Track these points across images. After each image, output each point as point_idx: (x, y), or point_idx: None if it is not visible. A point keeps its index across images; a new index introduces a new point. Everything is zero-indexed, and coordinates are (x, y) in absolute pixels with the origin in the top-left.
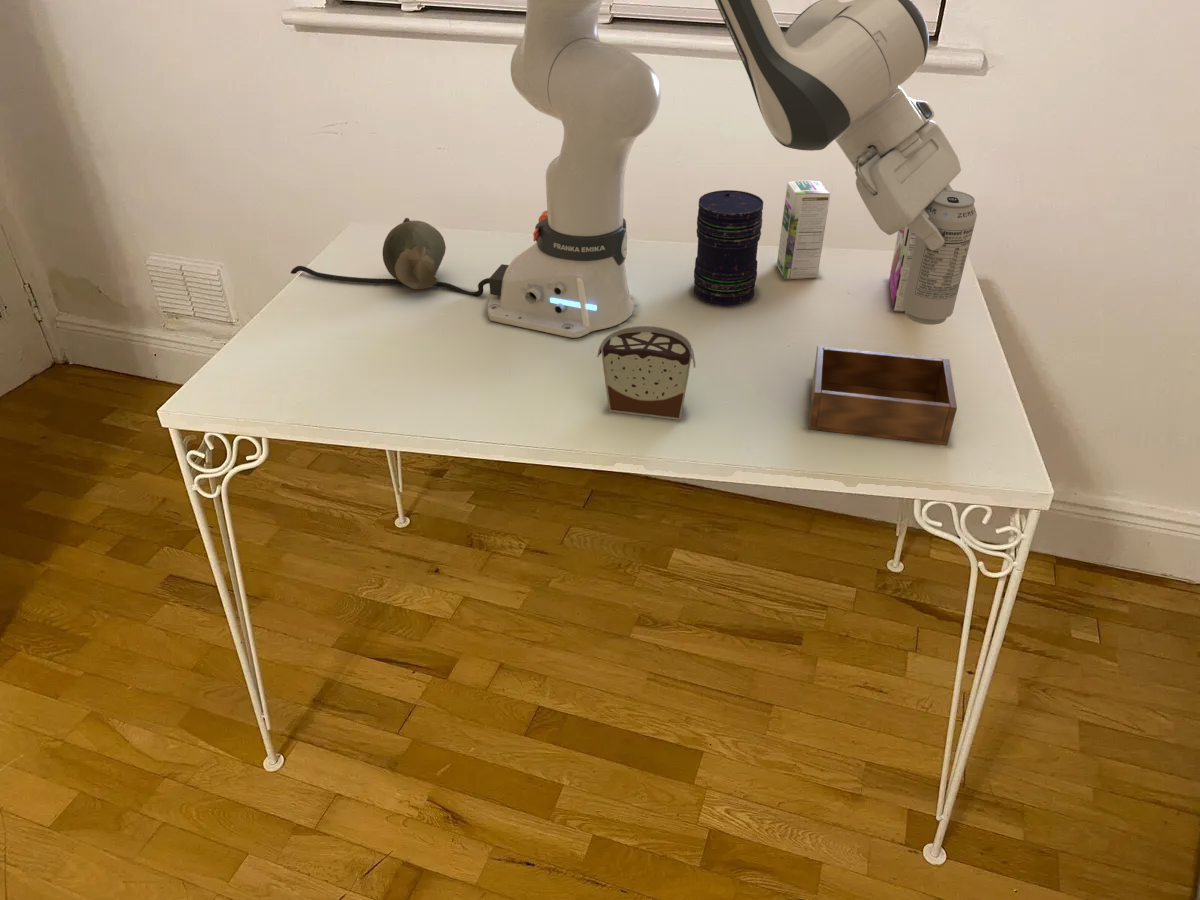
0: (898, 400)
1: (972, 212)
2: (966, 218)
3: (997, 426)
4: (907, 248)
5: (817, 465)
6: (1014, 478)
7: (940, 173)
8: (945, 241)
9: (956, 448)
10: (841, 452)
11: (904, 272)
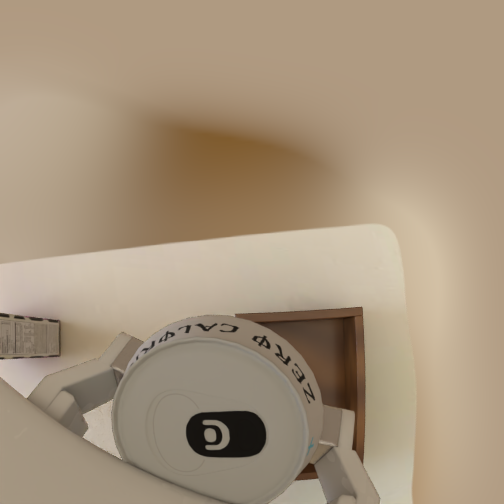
0: (363, 379)
1: (263, 341)
2: (300, 362)
3: (293, 254)
4: (6, 354)
5: (409, 432)
6: (384, 245)
7: (43, 474)
8: (329, 405)
9: (350, 300)
10: (385, 416)
11: (28, 352)
